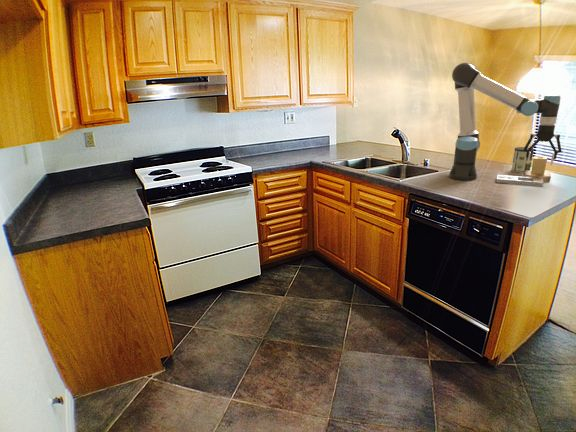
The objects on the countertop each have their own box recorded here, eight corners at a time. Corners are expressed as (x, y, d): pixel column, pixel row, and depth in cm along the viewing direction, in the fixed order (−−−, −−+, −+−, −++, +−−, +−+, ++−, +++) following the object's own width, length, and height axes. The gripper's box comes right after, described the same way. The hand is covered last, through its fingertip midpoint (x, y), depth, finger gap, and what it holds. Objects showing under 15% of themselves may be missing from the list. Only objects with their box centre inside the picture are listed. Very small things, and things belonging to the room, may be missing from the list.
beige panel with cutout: (496, 182, 211) (496, 178, 210) (496, 177, 220) (497, 174, 219) (542, 186, 201) (543, 182, 200) (541, 181, 210) (542, 177, 209)
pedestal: (524, 179, 214) (525, 174, 213) (524, 175, 224) (525, 170, 223) (549, 181, 208) (550, 176, 207) (548, 176, 218) (549, 171, 217)
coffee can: (526, 169, 237) (530, 147, 233) (532, 173, 228) (537, 149, 223) (508, 169, 240) (512, 147, 235) (514, 172, 230) (518, 149, 225)
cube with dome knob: (531, 173, 214) (534, 158, 211) (531, 171, 219) (534, 156, 216) (543, 174, 211) (547, 158, 208) (543, 172, 216) (546, 156, 213)
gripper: (522, 124, 208) (516, 163, 216) (573, 125, 197) (564, 166, 205) (522, 123, 214) (516, 161, 222) (572, 124, 203) (563, 164, 211)
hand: (539, 164), depth 213 cm, fingers open, 10 cm apart
